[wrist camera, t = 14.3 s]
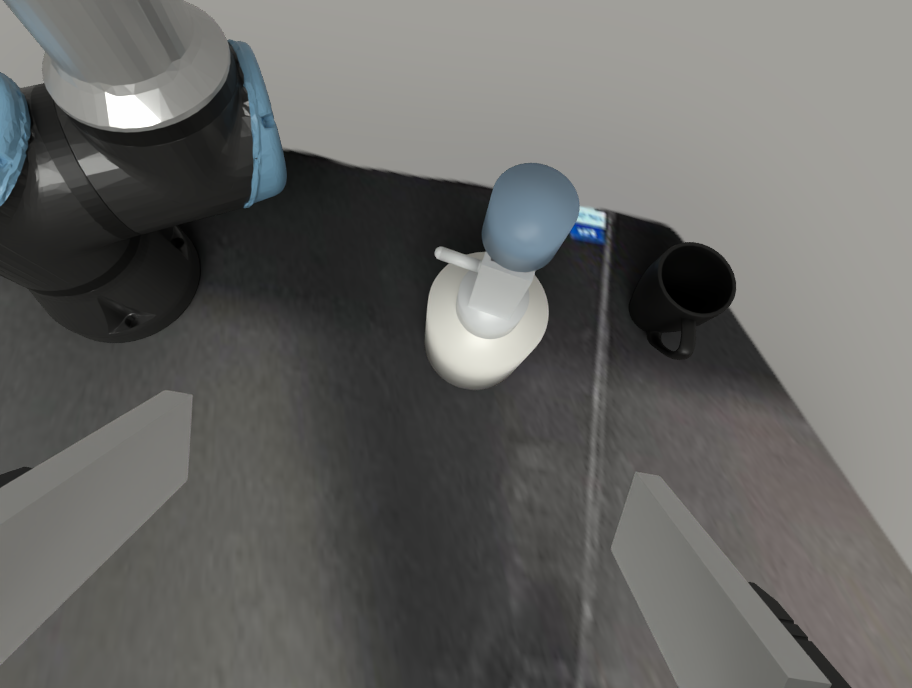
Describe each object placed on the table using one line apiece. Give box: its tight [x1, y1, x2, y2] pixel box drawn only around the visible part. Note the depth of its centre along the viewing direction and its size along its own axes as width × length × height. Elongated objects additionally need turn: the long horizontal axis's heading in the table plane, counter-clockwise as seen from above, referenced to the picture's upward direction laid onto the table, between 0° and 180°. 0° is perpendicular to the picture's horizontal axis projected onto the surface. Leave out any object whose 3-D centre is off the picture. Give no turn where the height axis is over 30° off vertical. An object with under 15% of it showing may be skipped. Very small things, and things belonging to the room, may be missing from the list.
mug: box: [629, 242, 736, 360], centre depth 51 cm, size 8×12×10 cm
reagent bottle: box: [425, 247, 549, 390], centre depth 43 cm, size 11×11×22 cm
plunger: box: [482, 163, 580, 272], centre depth 33 cm, size 5×5×13 cm
